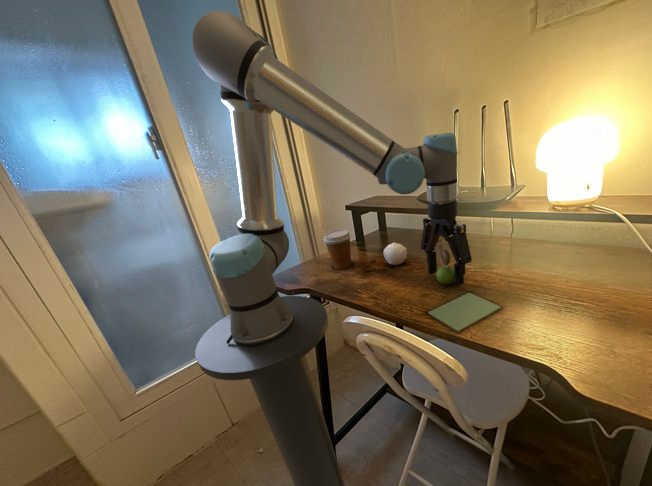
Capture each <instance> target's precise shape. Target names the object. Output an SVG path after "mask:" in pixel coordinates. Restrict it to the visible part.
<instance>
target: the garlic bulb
mask: <svg viewBox="0 0 652 486" xmlns="http://www.w3.org/2000/svg"><path fill="white" fill-rule="evenodd" d="M382 255H383V257H384V260H385V261H386V262H387V263H388V264H389V265H392V266H398V265H400V264H402V263H404V262H405V261H406V259H407V255H408V250H407V247H405V246H404V245H402V244H401V243H397V242H392V243H390V244H388V245H387V246H386V247H384V249H383V253H382Z"/></svg>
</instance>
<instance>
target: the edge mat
mask: <svg viewBox="0 0 652 486" xmlns="http://www.w3.org/2000/svg"><path fill="white" fill-rule="evenodd" d="M501 309H502V306H500V305H499V304H496V303H493V302H491V301H489V300H487V299H484V298H482V297H480V296H478V295H476V294H474V293H471V292H467V293H464V294H463V295H461V296H459V297H457V298H454V299H453V300H451V301H448V302H446V303H444V304H442V305H440V306H438V307H436V308H433V309H432V310H429V311H428V312H427V314H428V315H430V316H431V317H432V318H434V319H436V320H438V321H439V322H441V323H443V324H444V325H446V326H447V327H449V328H450V329H452V330H454V331H456V332H457V333H459V332H461V331H463V330H464V329H467V328H468V327H469V326H472V325H473V324H475V323H477V322H479V321H481V320H483V319H485V318H486V317H488V316H490V315H491V314H493V313H496V312H497V311H499V310H501Z"/></svg>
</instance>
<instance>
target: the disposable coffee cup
mask: <svg viewBox="0 0 652 486" xmlns="http://www.w3.org/2000/svg"><path fill="white" fill-rule="evenodd" d="M351 236H352V235H351V233H350V232H349V230H347V229H336V230H332V231H328V232H326V233H325V234H324V235H323V242H324V243H325V245H326V248H327V251H328V254H329V257H330V260H331V263H332V265H333V268H334V269H336V270H343V269H346V268H349V267H351V265H352V255H351V254H352V253H351Z"/></svg>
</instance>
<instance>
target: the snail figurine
mask: <svg viewBox="0 0 652 486" xmlns="http://www.w3.org/2000/svg"><path fill="white" fill-rule="evenodd" d="M439 243H440V244H439ZM441 243H442V239H438V241H437V244H438V245H437V249H438V257H439V261H440V264H441V266H440V267H439V268H437V272H436V273H435V278H436V281H438V282H439V283H440V284H442V285H450V284H452V283H454V267H453V266H451V265H450V262H451V255H450V253H449V250H447V249H445V248H444V247H443V244H441ZM443 248H444V249H443Z"/></svg>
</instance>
